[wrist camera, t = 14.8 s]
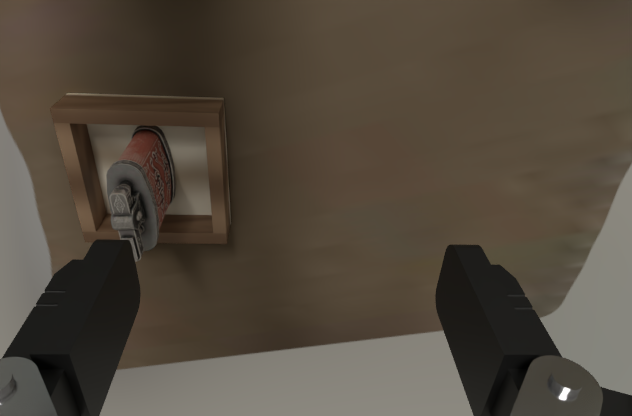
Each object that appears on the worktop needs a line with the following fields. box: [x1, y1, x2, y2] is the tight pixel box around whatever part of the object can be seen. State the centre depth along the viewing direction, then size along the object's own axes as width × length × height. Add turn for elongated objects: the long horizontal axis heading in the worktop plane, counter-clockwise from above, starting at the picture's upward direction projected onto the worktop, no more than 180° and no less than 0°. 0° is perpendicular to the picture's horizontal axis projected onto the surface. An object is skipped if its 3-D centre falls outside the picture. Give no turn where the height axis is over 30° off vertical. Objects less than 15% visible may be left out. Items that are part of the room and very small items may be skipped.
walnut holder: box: [50, 93, 231, 244], centre depth 42 cm, size 13×13×4 cm
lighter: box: [106, 125, 176, 261], centre depth 39 cm, size 8×3×10 cm, turn 0°
